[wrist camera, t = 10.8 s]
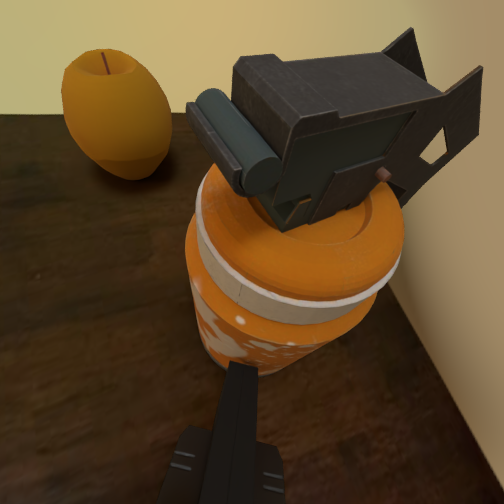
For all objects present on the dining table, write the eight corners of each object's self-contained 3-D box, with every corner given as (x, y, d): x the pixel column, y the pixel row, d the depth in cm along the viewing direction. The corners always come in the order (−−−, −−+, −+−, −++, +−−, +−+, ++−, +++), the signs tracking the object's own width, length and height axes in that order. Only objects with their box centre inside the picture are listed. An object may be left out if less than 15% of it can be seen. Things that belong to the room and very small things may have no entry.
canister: (183, 300, 22) (93, -24, 6) (284, 256, 26) (411, -13, 9) (227, 402, 19) (353, 357, 2) (337, 333, 23) (696, 119, 6)
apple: (191, 188, 30) (179, 78, 20) (101, 208, 26) (34, 90, 17) (167, 138, 34) (148, 27, 24) (88, 151, 31) (27, 28, 21)
